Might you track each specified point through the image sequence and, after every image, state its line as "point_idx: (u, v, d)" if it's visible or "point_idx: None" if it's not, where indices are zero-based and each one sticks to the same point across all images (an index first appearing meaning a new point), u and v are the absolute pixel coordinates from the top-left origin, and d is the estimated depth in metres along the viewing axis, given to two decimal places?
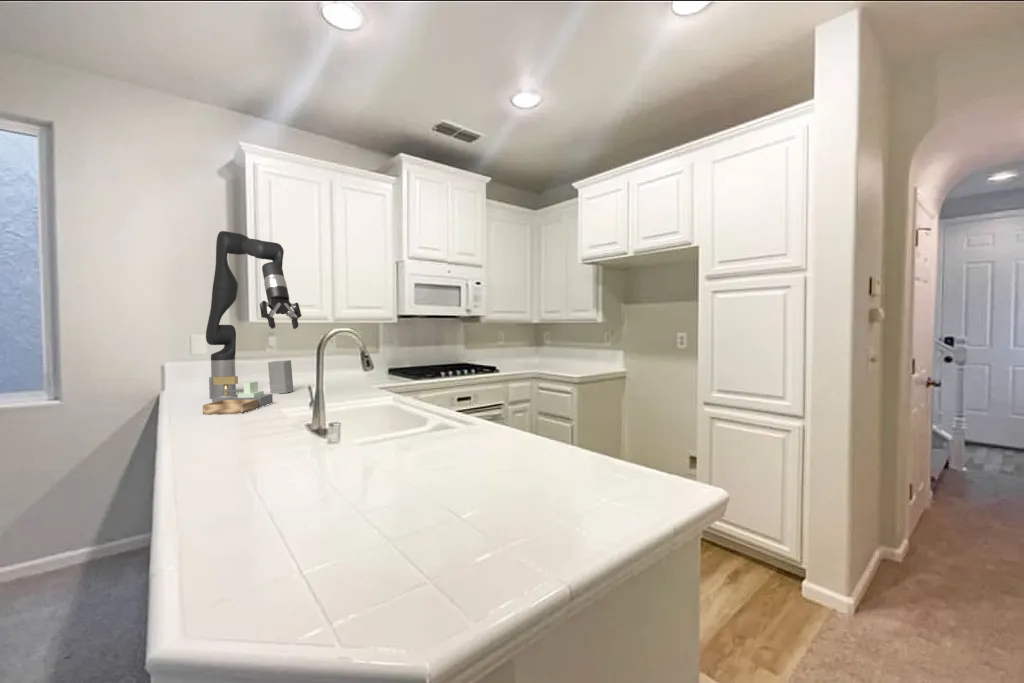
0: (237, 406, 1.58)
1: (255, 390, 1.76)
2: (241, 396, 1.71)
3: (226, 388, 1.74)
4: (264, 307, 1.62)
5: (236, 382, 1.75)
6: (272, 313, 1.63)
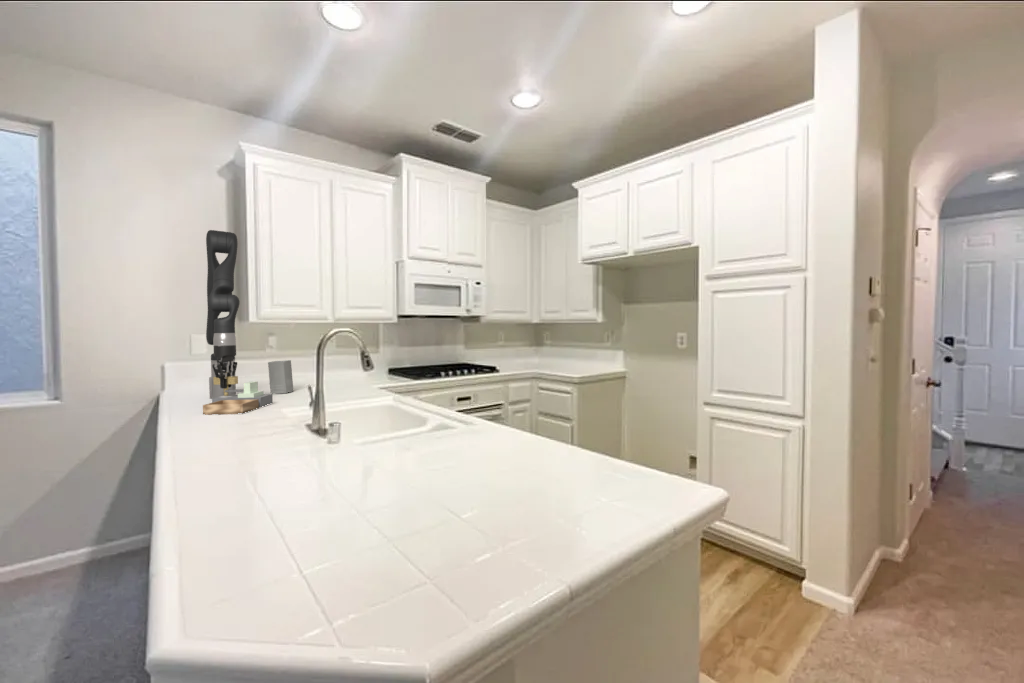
0: (237, 406, 1.58)
1: (255, 390, 1.76)
2: (241, 396, 1.71)
3: (226, 388, 1.74)
4: (221, 370, 1.69)
5: (236, 382, 1.75)
6: (226, 374, 1.73)
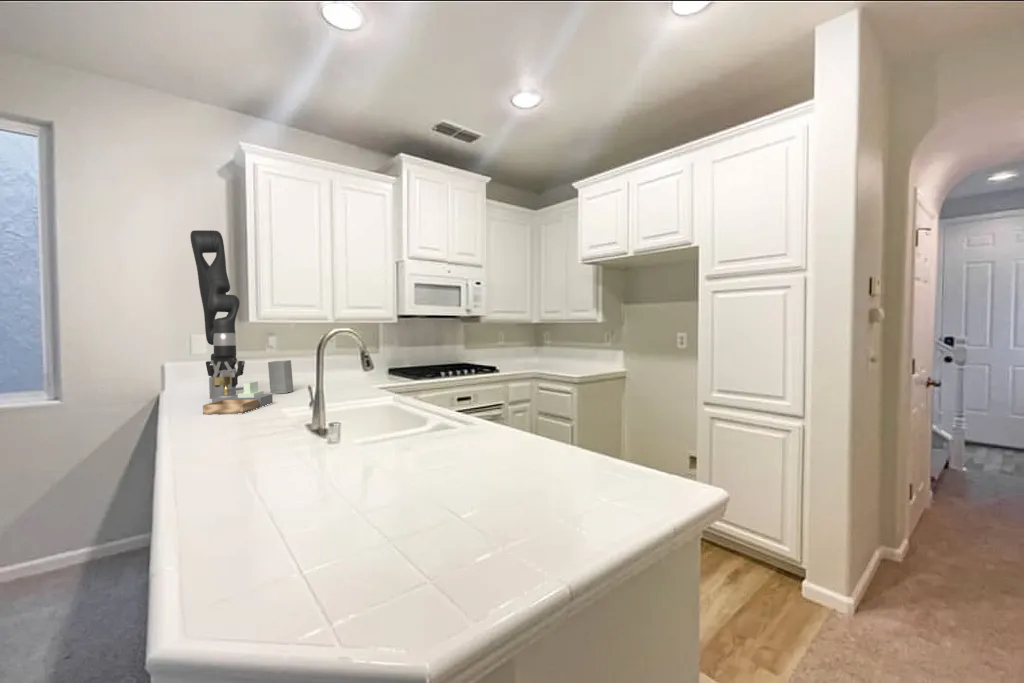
0: (237, 406, 1.58)
1: (255, 390, 1.76)
2: (241, 396, 1.71)
3: None
4: None
5: None
6: None
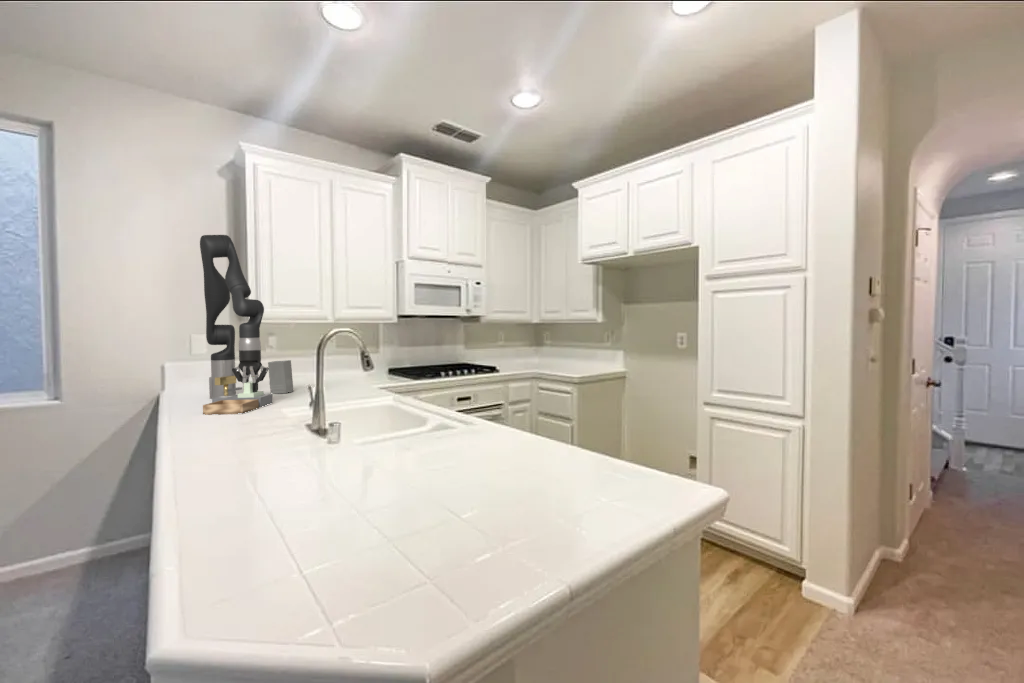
0: (237, 406, 1.58)
1: None
2: (241, 396, 1.71)
3: None
4: None
5: None
6: None
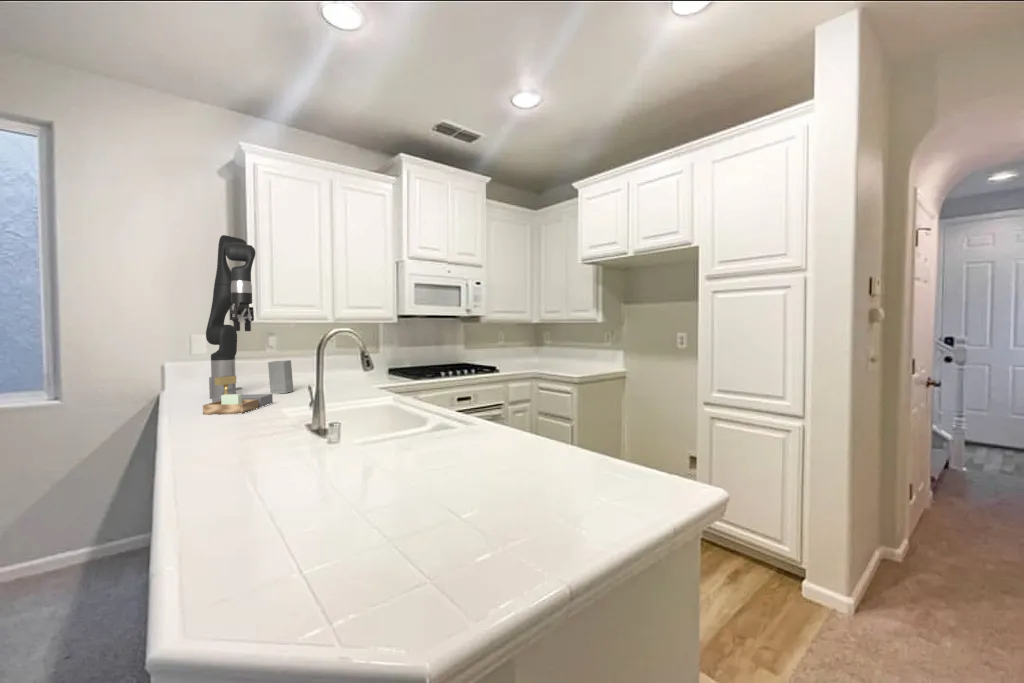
0: (237, 406, 1.58)
1: None
2: None
3: None
4: None
5: None
6: None
